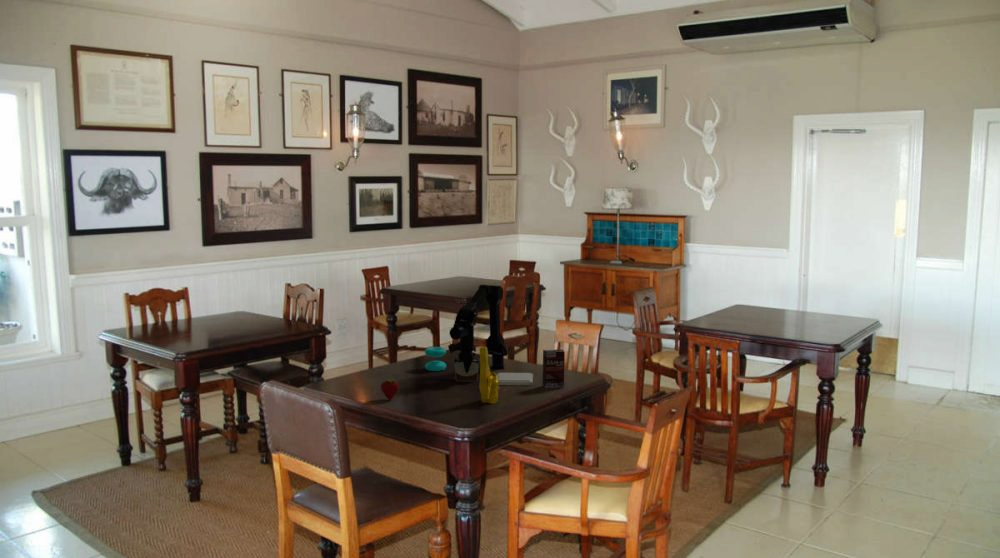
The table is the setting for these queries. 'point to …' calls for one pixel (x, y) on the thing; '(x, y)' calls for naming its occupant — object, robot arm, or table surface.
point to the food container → (472, 372)
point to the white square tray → (515, 378)
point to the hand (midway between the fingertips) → (467, 370)
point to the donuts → (435, 353)
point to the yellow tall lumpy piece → (487, 379)
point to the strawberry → (390, 388)
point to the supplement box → (553, 368)
